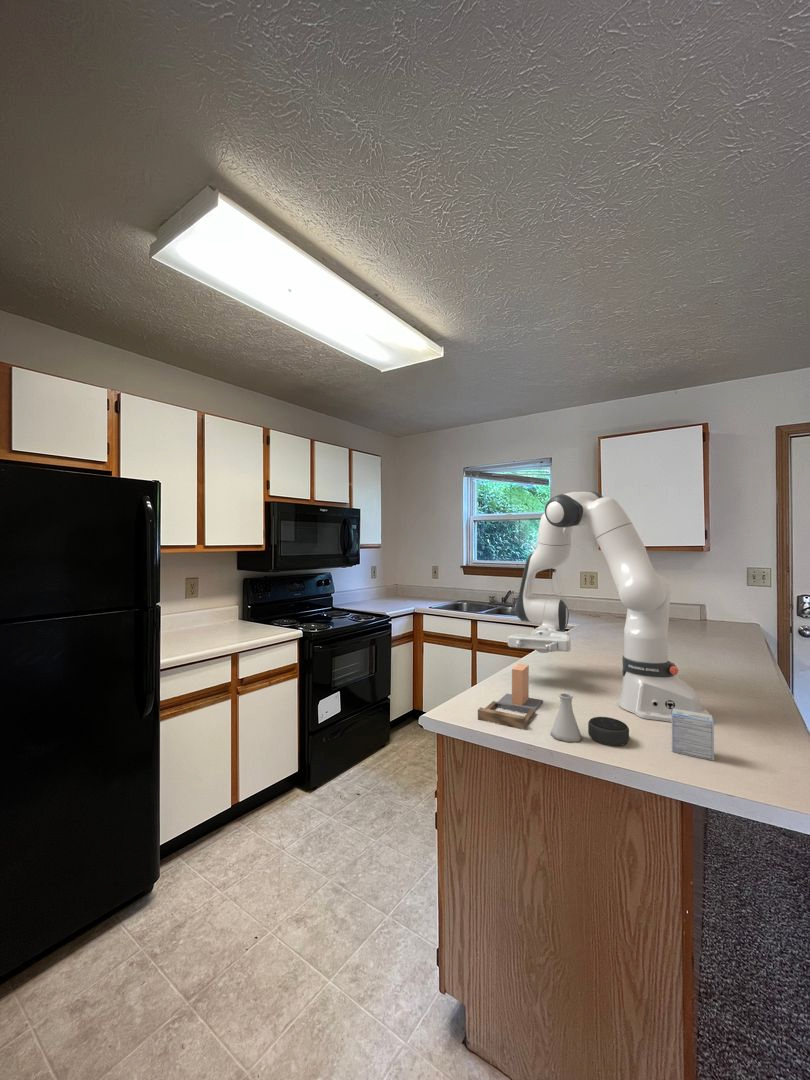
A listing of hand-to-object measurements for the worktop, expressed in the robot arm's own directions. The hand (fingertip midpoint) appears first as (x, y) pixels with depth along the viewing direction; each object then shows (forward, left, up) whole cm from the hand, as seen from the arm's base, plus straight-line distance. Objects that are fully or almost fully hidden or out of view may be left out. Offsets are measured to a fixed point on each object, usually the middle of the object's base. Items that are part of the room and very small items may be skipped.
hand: (532, 646), depth 139 cm
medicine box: (-41, +23, -15) cm, 49 cm away
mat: (+1, +12, -14) cm, 19 cm away
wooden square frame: (+1, +24, -14) cm, 28 cm away
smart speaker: (-24, +25, -15) cm, 38 cm away
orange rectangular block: (+1, +12, -14) cm, 18 cm away
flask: (-15, +29, -15) cm, 36 cm away
